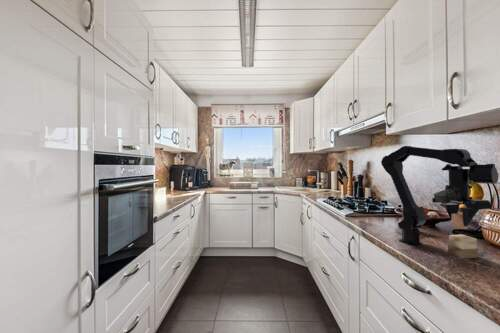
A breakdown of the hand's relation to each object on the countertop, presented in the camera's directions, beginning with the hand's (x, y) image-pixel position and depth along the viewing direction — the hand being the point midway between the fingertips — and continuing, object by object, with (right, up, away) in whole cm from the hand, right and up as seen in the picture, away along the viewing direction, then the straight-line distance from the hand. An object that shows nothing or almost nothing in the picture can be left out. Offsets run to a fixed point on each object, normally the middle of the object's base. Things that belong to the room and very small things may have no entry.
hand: (459, 224), depth 93 cm
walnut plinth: (+1, -11, 0) cm, 11 cm away
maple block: (+1, -8, 0) cm, 8 cm away
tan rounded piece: (0, -1, 0) cm, 1 cm away
